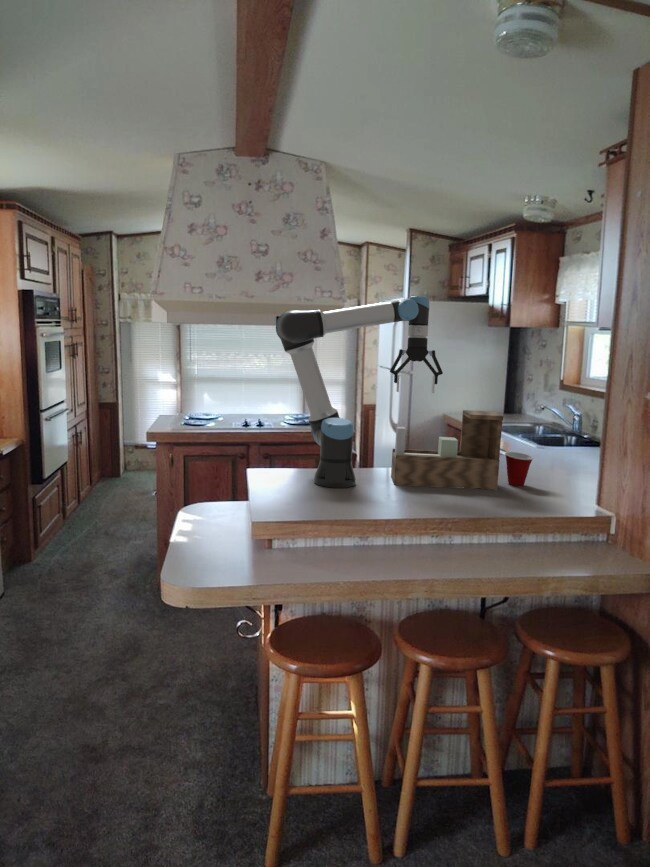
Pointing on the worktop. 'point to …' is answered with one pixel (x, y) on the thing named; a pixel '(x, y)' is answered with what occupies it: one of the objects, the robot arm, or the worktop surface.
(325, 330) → the robot arm
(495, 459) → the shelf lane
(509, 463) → the plastic cup
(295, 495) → the worktop surface
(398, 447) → the tethered block
